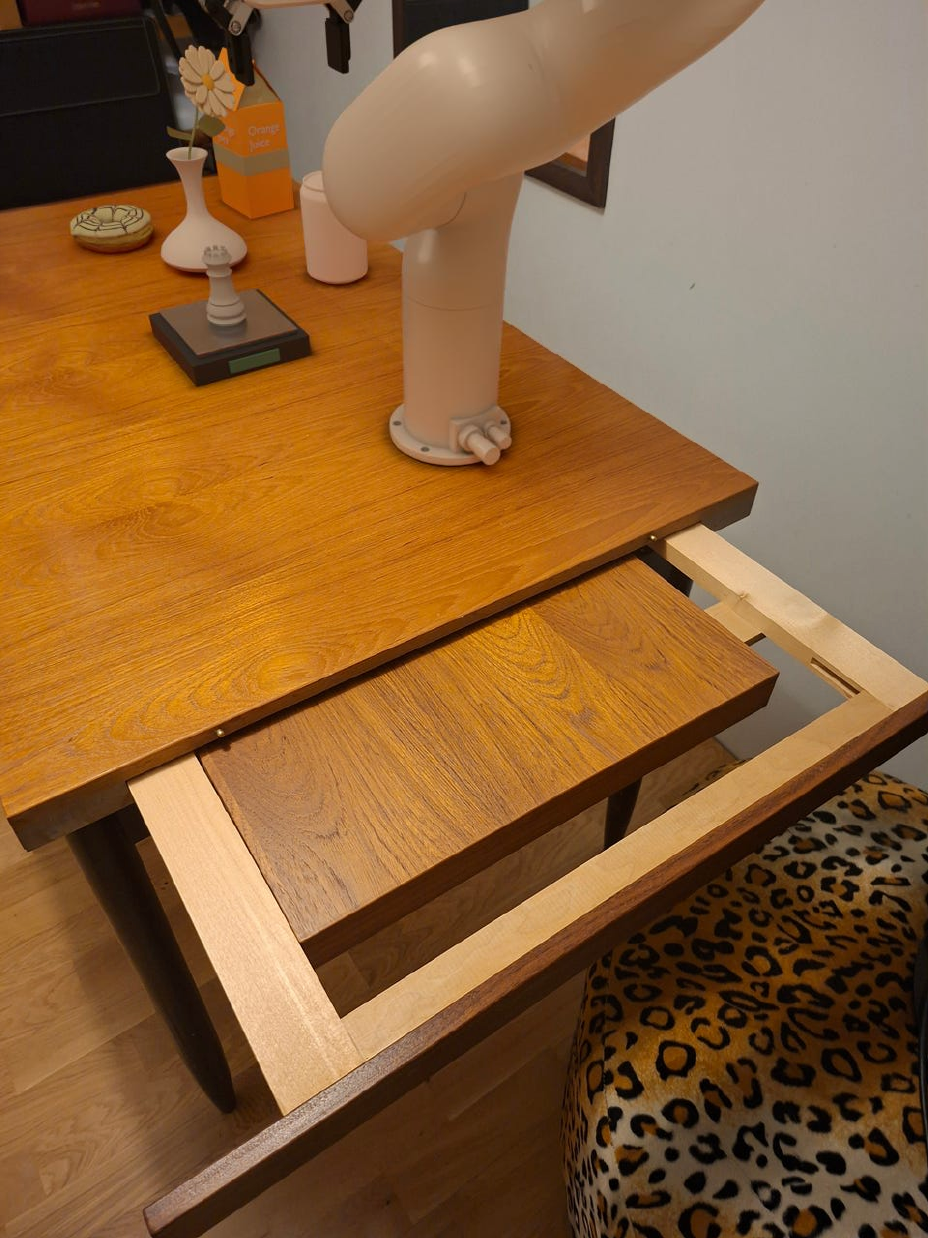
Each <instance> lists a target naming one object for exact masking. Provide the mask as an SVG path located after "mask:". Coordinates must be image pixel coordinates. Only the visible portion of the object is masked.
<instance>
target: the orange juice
mask: <svg viewBox="0 0 928 1238" xmlns="http://www.w3.org/2000/svg"><path fill="white" fill-rule="evenodd" d="M217 61H222V62H223V64H224V66H225V68H224V69H226V70H227V72H228V74H229V75H230V76H231V79H232V80H231V83H233V84H234V85H235V91H234V92H232V93H233V95H234V97H235V98H236V102H235V103H233V106H234V108H233V109H232V110H231V109H228V108H227V107H226V106H225V107H226V109H227V111H228V114H227V117H226V118H224V117H222V118H219V119H220V120H221V121H222V122H223V123H224V124H225V126H226V127H225V129H224V130H223V131H222V132H221V133H220V134H219V135H217V136H215V137H211V138H212V147H213V153H214V159H215V163H216V170H217V175H218V182H219V187H220V194H221V201H222V203H224V204H226V205H227V206H229V207H231V209H234V210H235V211H237V212H238V213H240V214H241V215H243V216H245V217H247V218H249V219H250V220H255V219H258V218H263V217H266V216H270V215H274V214H278V213H282V212H285V211H290V210H293V209H295V202H294V193H293V185H292V184H293V183H292V174H291V173H292V172H291V161H290V150H289V145H288V144H289V143H288V136H287V125H286V117H285V116H286V115H285V107H284V101H282V100H281V98H280V97H279V95H278V94H277V92H276V91H275V89H274V88H273V87H272V85H271V84H270V83H269V81H268V79H266V77H265V75H264V74H263V73H262V71H261V70H260V68H259V67H258V65H257V64H256V62H255V60H254V59H252V61H253V69H254V77H255V84H254V85H253V86H249V87H247V86H245V85H244V84H242V83H241V82H239V81H237V80H236V79H235V76H234V74H232V73H231V71H230V68H229V62H228V55H227V48H226V47H223V46H222V48H221V51H220V54H219V55H218V59H217ZM215 117H217V116H216V115H215ZM217 118H218V117H217Z"/></svg>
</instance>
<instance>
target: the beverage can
mask: <svg viewBox="0 0 928 1238" xmlns="http://www.w3.org/2000/svg"><path fill="white" fill-rule="evenodd" d="M299 200H300V201H299V202H300V210H301V220H302V222H301V223H302V230H303V240H304V241H303V242H304V251H305V262H306V271H307V273H308V275H309V276H310V277H311V278H313V279H315V280H317V281H320V282H323V283H326V284H331V285H345V284H349V283H352V282H355V281H357V280H359V279H361V278H362V277H364V276H365V275H366V274H367V273H368V270H369V266H368V264H369V262H368V243H367V242H368V241H367V240H364V239H361V238H359V237H357V236H356V235H354V234H352V233H351V232H350V231H348V230H347V229H346V228H345V227H344V226H343V225H342V224H341V223H340V222H339V221H338V220H337V218H336V217H335V215H334V214H333V212H332V211H331V209H330V207H329V204H328V202H327V199H326V196H325V193H324V188H323V182H322V170H316V171H313V172H310V173H308V174H306V175H304V176H303V177H302V184H301V186H300V188H299Z"/></svg>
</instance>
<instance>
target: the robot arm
mask: <svg viewBox="0 0 928 1238" xmlns="http://www.w3.org/2000/svg"><path fill="white" fill-rule="evenodd" d="M765 1H766V0H542V1H541V2H539V3H537V4H536V5H534V6H532V7H530V8H528V9H526V10H522V11H519V12H515V13H511V14H506V15H502V16H497V17H492V18H488V19H483V20H482V19H481V20H476V21H475V20H474V21H470V22H465V23H461V24H460V23H459V24H456V25H451V26H447V27H443V28H441V29H438V30H435V31H433V32H430V33H428V34H426V35H425V36H422V37H421V38H419V39H417V40H416V41H414V42H413V43H411V44H410V45H408V46H407V47H406V48H405V49H403V50H402V51H401V52H400V53H399V54H398V55H397V56H396V57H395V58H394V59H393V60H392V61H391V62H390V63H389V64H387V66H386V67H385V68H384V69H383V70H382V71H381V72H380V73H379V74H378V75H377V76H376V77H375V78H374V79H373V80H372V81H371V82H370V83H369V84H368V85H367V86H366V87H365V88H364V90H363V91H361V93H360V94H359V95H358V96H357V97H356V98H355V99H354V100H353V101H352V102H351V103H350V104H349V105H348V106H347V107H346V108H345V109H344V110H343V112H342V113H340V115H339V116H338V118H337V119H335V122H334V123H333V125H332V126H331V128H330V131H329V132H328V135H327V136H326V137H327V138H326V140H325V143H324V146H323V147H324V148H323V151H322V158H321V171H322V182H323V188H324V193H325V196H326V199H327V202H328V204H329V207H330V209H331V211H332V212H333V214H334V215H335V217H336V218H337V220H338V221H339V222H340V223H341V224H342V225H343V226H344V227H345V228H346V229H347V230H348V231H350V232H351V233H352V234H354V235H356V236H357V237H359V238H361V239H364V240H367V242H372V243H375V244H376V243H377V244H385V243H390V242H395V241H398V240H402V239H405V238H406V240H405V243H404V248H403V253H402V261H401V324H402V329H401V330H402V369H403V403H401V404H400V405H399V406H398V407H396V409H394V410H393V412H392V414H391V416H390V418H389V424H388V425H389V436H390V439H391V440H392V442H393V444H394V445H395V446H396V447H397V449H398V450H400V451H401V452H402V453H404V454H405V455H407V456H408V457H411V458H413V459H415V460H418V461H421V462H423V463H427V464H431V465H438V466H448V467H449V466H464V465H473V464H475V463H480V462H483V464H485V465H486V466H491V465H494V464H495V463H496V462H498V460H499V459H500V456H501V451H503V450H506V449H508V448H509V447H510V446H511V444H512V442H513V440H512V439H513V438H512V437H511V421H510V418H509V416H508V414H507V413H506V412H505V410H503V408H501V406H499V405H498V400H499V399H498V398H499V386H500V367H501V355H502V338H503V323H504V307H505V294H506V293H505V291H506V284H507V283H506V280H507V269H508V268H507V267H508V258H509V257H508V255H509V247H510V239H511V234H512V227H513V222H514V217H515V213H516V210H517V206H518V201H519V199H520V194H521V191H522V185H523V181H524V176H525V172H526V171H528V170H531V169H535V168H537V167H540V166H543V165H544V164H547V163H550V162H552V161H554V160H556V159H557V158H559V157H561V156H562V155H564V154H565V153H567V152H568V151H569V150H571V149H572V148H573V147H575V146H577V145H578V144H579V143H580V142H582V141H583V140H584V139H586V138H587V137H588V136H589V135H591V134H592V133H594V132H596V131H597V130H598V129H600V128H602V127H604V125H606V124H607V123H609V122H610V121H612V120H614V119H615V118H616V117H618V116H619V115H621V114H622V113H624V112H626V111H627V110H628V109H630V108H631V107H633V106H634V105H636V104H637V103H639V102H640V101H641V100H643V99H644V98H645V97H646V96H648V95H649V94H650V93H652V92H653V91H655V90H656V89H658V88H659V87H661V86H662V85H663V84H665V83H666V82H668V81H669V80H671V79H672V78H674V77H676V76H677V75H679V74H680V73H681V72H683V71H684V70H686V69H687V68H689V67H690V66H691V65H693V64H694V63H696V62H697V61H699V60H700V59H701V58H703V57H705V56H706V55H707V54H709V53H710V52H711V51H713V50H714V49H716V47H718V46H719V45H720V44H721V43H722V42H724V41H725V40H726V39H727V38H728V37H729V36H731V35H732V34H733V33H734V32H736V31H737V30H738V29H739V28H740V27H741V26H742V25H743V24H744V23H745V22H746V21H747V20H749V18H751V16H752V15H753V14H754V13H755V12H756V11H757V10H758V9H759V8H760V7H761V6H762V5H763V4H764V2H765ZM362 2H363V0H225V1H224V4H222V3H221V2H220V1H219V0H198V3H199V4H200V7H201V9H202V10H203V11H204V12H205V13H206V14H207V15H208V16H209V17H210V18H211V19H212V20H213V21H214V22H215V23H216V24H217V26H218V27H219V28H220V29H222V30H223V31H224V32H223V33H224V40H225V48H226V49H227V55H228V62H229V68H230V71H231V73H232V74H234V76H235V79H236V80H237V81H239V82H241V83H242V84H244V85H245V86H247V87H249V86H253V85H254V84H255V77H254V69H253V61H252V60H253V54H252V47H251V46H252V45H251V44H252V43H251V38H250V36H249V35H248V34H246V33H245V29H244V28H245V27H246V24H247V22H248V20H249V18H250V16H251V14H252V12H253V10H254V9H259V10H269V9H271V10H272V9H282V8H283V9H284V8H293V7H294V8H296V7H304V6H314V5H322V6H323V7H324V8H325V10H326V11H327V12H328V14H329V15H328V17H326V18H325V20H324V32H325V46H326V61H327V63H326V64H327V66H328V67H329V68H330V69H332V70H333V71H336V72H338V73H340V74H342V75H347V74H349V73H350V60H351V58H352V52H351V51H352V50H351V49H352V48H351V32H350V31H351V29H350V24H352V23H353V22H354V20H355V13H356V11H357V10H358V8H360V5H361V3H362Z"/></svg>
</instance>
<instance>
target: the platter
mask: <svg viewBox="0 0 928 1238" xmlns="http://www.w3.org/2000/svg"><path fill="white" fill-rule="evenodd" d="M235 292H236V294H237V295H238V296H239V299H240V300H241V301H242V302H243V304H244V309H243V310H244V311H245V312H246V317H245V318H244V320H243V321H242V322H241V323H240V324H238V325H234V326H229V327H221V326H217V325H214V324H213V323H212V322H211V321H209V320H208V319H207V314H208V312H207V311H206V306H207V303H208V302H209V300H208V298H206V299H202V300H197V301H194V302H190V303H185V304H180V305H176V306H173V307H168V308H164V309H160V310H158V313H159V316H160V317H161V318H162V319H163V320H164V321H165V323H166V324H167V325H168V326H169V327H170V328H171V329H172V330H173V332H174V333H175V334H176V335H177V336H178V337H179V338H180V340H181V341H182V342H183V343H184V344H185V345H186V346H187V347H188V349H189V350H190V351H191V352H192V353H193V354H194V355H195V357H196V358H197V359H198V360H199V359H203V358H206V357H210V356H214V355H218V354H222V353H225V352H229V351H233V350H237V349H240V348H244V347H248V346H252V345H256V344H259V343H263V342H267V341H271V340H274V339H278V338H282V337H286V336H290V335H293V334H297V328H296V327H295V326H294V325H293V324H292V323H291V322H290V321H289V320H288V319H286V318H285V317H284V316H283V315H282V314H281V313H280V312H279V311H278V310H277V309H276V308H274V307H273V306H272V305H271V304H270V303H269V302H268V301H267V300H266V299H265V298H264V297H263V296H261V295H260V294H259V293H258V292H257V291H256V289H255V288H254V287H253V288H248V289H243V290H241V291H235Z"/></svg>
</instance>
